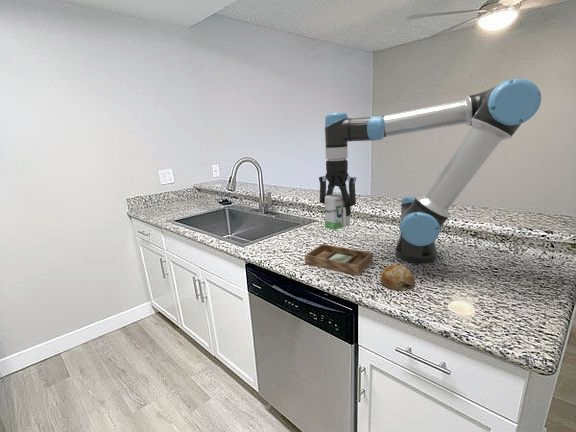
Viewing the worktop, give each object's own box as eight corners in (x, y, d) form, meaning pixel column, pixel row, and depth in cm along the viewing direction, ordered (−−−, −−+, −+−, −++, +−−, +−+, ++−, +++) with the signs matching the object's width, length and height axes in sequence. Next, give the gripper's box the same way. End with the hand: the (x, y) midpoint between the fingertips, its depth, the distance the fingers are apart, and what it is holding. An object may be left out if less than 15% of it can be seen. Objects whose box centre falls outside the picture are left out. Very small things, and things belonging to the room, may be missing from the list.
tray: (372, 261, 115) (372, 252, 114) (358, 275, 105) (358, 266, 104) (322, 251, 128) (322, 243, 127) (305, 263, 117) (304, 255, 116)
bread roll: (390, 301, 94) (399, 285, 89) (371, 277, 101) (378, 260, 97) (414, 293, 98) (424, 277, 93) (394, 270, 105) (402, 254, 100)
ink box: (334, 230, 108) (333, 198, 105) (324, 227, 112) (323, 196, 109) (350, 225, 113) (350, 194, 110) (340, 222, 117) (340, 192, 114)
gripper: (366, 158, 104) (366, 223, 109) (318, 158, 114) (320, 217, 120) (357, 160, 98) (357, 229, 104) (307, 160, 109) (310, 222, 115)
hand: (337, 222), depth 112 cm, fingers closed on ink box, 6 cm apart
